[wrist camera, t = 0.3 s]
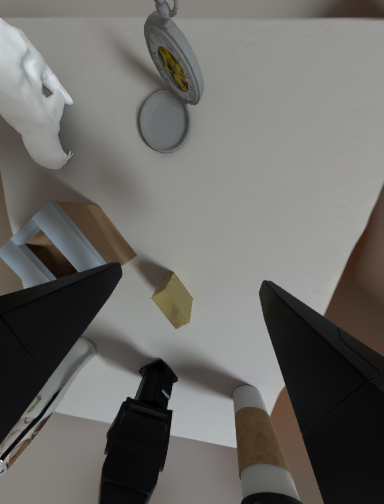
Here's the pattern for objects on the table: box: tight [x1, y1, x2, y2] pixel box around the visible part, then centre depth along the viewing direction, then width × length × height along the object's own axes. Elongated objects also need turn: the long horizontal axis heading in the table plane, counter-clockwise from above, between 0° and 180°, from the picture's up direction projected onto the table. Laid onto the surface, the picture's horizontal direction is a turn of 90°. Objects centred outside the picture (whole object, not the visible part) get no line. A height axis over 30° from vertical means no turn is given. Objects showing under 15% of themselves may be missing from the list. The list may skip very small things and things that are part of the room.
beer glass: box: [0, 337, 96, 476], centre depth 24 cm, size 7×7×15 cm
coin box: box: [0, 201, 137, 287], centre depth 21 cm, size 11×10×8 cm
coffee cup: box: [233, 385, 303, 504], centre depth 23 cm, size 8×8×15 cm
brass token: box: [151, 272, 193, 329], centre depth 23 cm, size 2×6×6 cm, turn 34°
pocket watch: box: [140, 0, 204, 153], centre depth 14 cm, size 8×8×10 cm
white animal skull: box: [0, 18, 74, 170], centre depth 16 cm, size 6×8×12 cm
